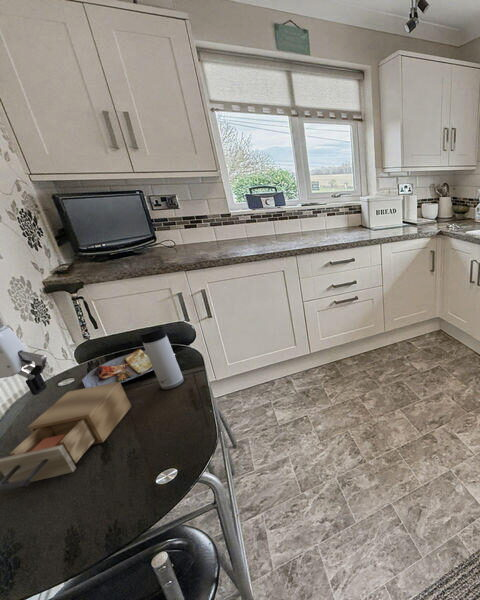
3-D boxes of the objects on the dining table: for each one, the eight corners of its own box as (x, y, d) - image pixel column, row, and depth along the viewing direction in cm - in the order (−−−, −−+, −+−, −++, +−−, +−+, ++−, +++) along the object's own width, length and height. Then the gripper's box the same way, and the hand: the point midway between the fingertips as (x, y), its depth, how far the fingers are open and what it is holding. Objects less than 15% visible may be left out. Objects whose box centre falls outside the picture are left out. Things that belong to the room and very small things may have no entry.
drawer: (51, 498, 67) (35, 473, 65) (-16, 515, 65) (-36, 490, 63) (106, 430, 86) (95, 409, 83) (55, 441, 83) (42, 420, 81)
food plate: (80, 376, 116) (76, 367, 114) (156, 348, 132) (153, 340, 130) (92, 402, 100) (87, 393, 99) (177, 367, 116) (173, 358, 115)
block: (74, 447, 79) (65, 433, 78) (61, 462, 75) (52, 447, 74) (52, 452, 78) (44, 438, 77) (38, 467, 74) (29, 452, 73)
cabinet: (103, 442, 83) (88, 414, 80) (44, 455, 80) (26, 427, 77) (131, 406, 96) (119, 381, 93) (81, 416, 94) (68, 391, 91)
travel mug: (164, 392, 102) (140, 335, 94) (159, 385, 106) (136, 330, 99) (186, 382, 106) (165, 327, 99) (180, 375, 110) (160, 322, 103)
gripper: (-99, 342, 62) (-51, 414, 68) (10, 328, 66) (47, 398, 72) (-58, 326, 69) (-17, 393, 75) (39, 314, 73) (71, 379, 79)
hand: (14, 395), depth 74 cm, fingers open, 9 cm apart
